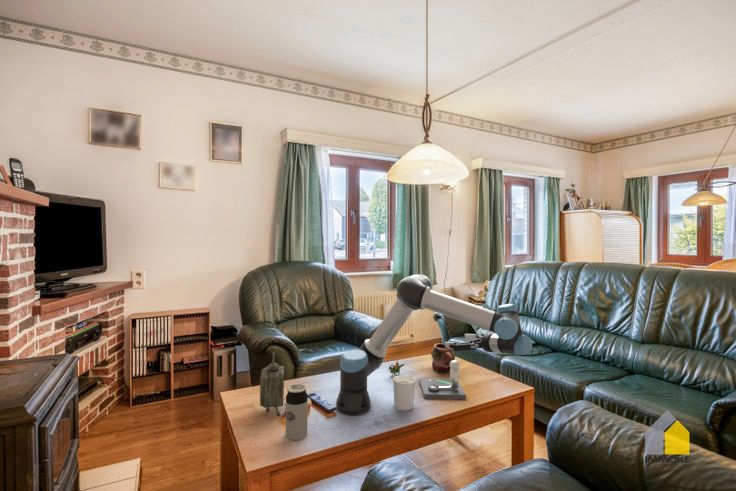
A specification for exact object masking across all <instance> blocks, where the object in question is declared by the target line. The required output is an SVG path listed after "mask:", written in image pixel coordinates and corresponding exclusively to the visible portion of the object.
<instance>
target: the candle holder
mask: <svg viewBox="0 0 736 491" xmlns="http://www.w3.org/2000/svg"><path fill="white" fill-rule="evenodd" d="M397 375H398V374H397ZM397 375H395V376H393V377H392V382H393V386H392V387H393V402H394V404H393V405H394V407H395V408H396V409H397V410H399V411H411V410H412V409H413V408H414V405H415V403H414V402H415V393H416V392H415V390H416V378H415V377H414V376H412V375H407V374H399V375H398V376H397Z"/></svg>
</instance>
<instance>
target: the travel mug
mask: <svg viewBox="0 0 736 491" xmlns="http://www.w3.org/2000/svg"><path fill="white" fill-rule="evenodd" d="M307 389H308V386H307V384H304V383H291V384H289V385H288V386H286V391H287V393H286V394H285V437H286V439H289V440H292V441H298V440H302V439H304V438H305V437H306V436H307V435H308V410H309V409H308V406H309V405H308V403H309V402H308V398H309V396H308V393H307Z"/></svg>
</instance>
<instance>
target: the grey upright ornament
mask: <svg viewBox="0 0 736 491" xmlns="http://www.w3.org/2000/svg"><path fill="white" fill-rule="evenodd" d="M275 361H276V359H275V351H273V352H272V361H271V362H270V363H269V364H268V365H267V366H265V367H264V368H261V373H260V380H259V402H260V404H259V406H260V407H263V408H264V409H265V411H266V412H267V413H268V412H270V408H274V409H275V411H276V416H277V417H280V416H281V412H279V408H281V407H284V399H285V398H284V395H285V393H284V392H285V366H284V365H279V363H277V362H275Z"/></svg>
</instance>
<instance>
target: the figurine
mask: <svg viewBox="0 0 736 491" xmlns="http://www.w3.org/2000/svg"><path fill="white" fill-rule="evenodd" d="M399 363H400V362H399V360H398V359H397V360H396V361H395V364H391V365H389V367H388V369H387V370H388V371H389V373H390V374H391V377H395V376H398V375H401V374H400V371H401V368H402V367H404V366H406V364H404V363H400V364H399Z"/></svg>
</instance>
